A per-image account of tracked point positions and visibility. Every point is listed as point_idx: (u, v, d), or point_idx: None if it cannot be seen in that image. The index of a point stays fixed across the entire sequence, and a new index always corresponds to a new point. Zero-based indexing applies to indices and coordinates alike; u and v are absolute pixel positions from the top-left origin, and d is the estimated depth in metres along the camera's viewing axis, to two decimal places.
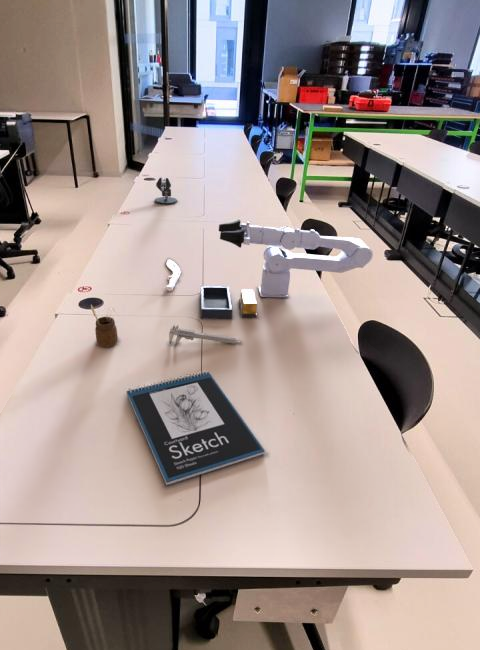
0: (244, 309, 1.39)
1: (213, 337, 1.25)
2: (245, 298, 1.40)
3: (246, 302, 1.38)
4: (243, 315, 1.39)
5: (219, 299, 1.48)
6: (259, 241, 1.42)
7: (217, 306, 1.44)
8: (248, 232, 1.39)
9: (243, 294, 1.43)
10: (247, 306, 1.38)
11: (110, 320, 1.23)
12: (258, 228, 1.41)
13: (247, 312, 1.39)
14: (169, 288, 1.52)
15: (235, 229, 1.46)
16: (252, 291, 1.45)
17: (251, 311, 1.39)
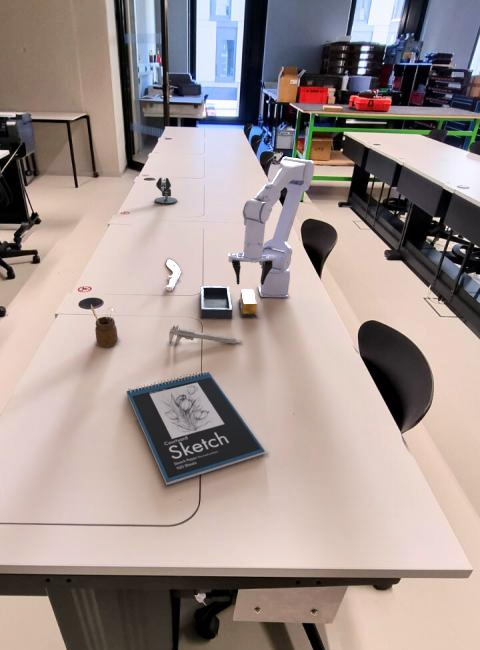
0: (244, 309, 1.39)
1: (213, 337, 1.25)
2: (245, 298, 1.40)
3: (246, 302, 1.38)
4: (243, 315, 1.39)
5: (219, 299, 1.48)
6: None
7: (217, 306, 1.44)
8: (265, 259, 1.33)
9: (243, 294, 1.43)
10: (247, 306, 1.38)
11: (110, 320, 1.23)
12: (258, 249, 1.30)
13: (247, 312, 1.39)
14: (169, 288, 1.52)
15: None
16: (252, 291, 1.45)
17: (251, 311, 1.39)
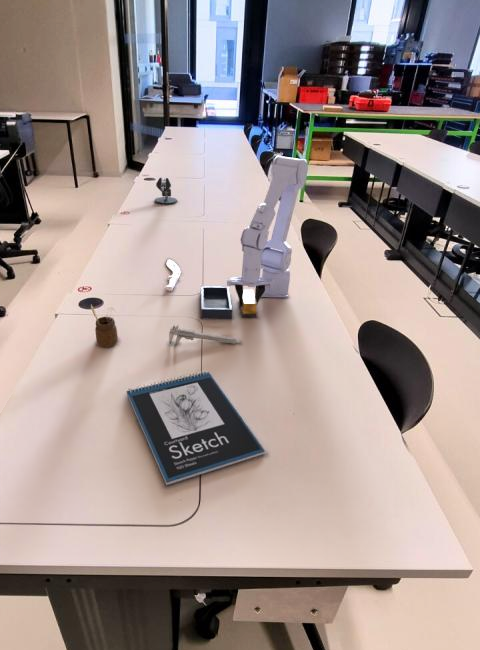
0: (244, 309, 1.39)
1: (213, 337, 1.25)
2: (245, 298, 1.40)
3: (246, 302, 1.38)
4: (243, 315, 1.39)
5: (219, 299, 1.48)
6: None
7: (217, 306, 1.44)
8: (263, 283, 1.37)
9: (243, 294, 1.43)
10: (247, 306, 1.38)
11: (110, 320, 1.23)
12: (255, 274, 1.34)
13: (247, 312, 1.39)
14: (169, 288, 1.52)
15: None
16: (252, 291, 1.45)
17: (251, 311, 1.39)
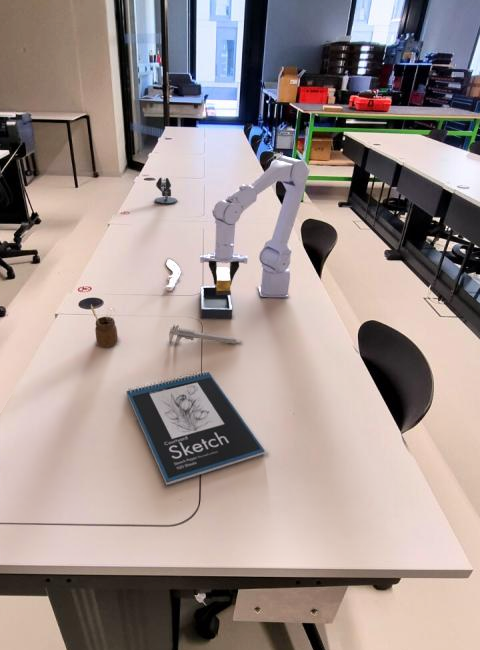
0: (218, 286, 1.35)
1: (213, 337, 1.25)
2: (219, 275, 1.37)
3: (220, 279, 1.35)
4: (217, 292, 1.36)
5: (219, 299, 1.48)
6: None
7: (217, 306, 1.44)
8: (236, 259, 1.34)
9: (217, 271, 1.40)
10: (221, 283, 1.35)
11: (110, 320, 1.23)
12: (228, 249, 1.31)
13: (221, 289, 1.36)
14: (169, 288, 1.52)
15: None
16: (227, 269, 1.42)
17: (225, 288, 1.36)
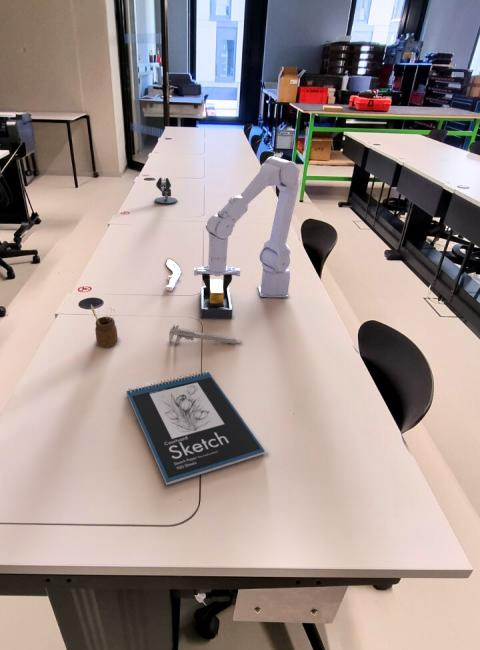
0: (211, 298, 1.38)
1: (213, 337, 1.25)
2: (212, 287, 1.40)
3: (213, 291, 1.38)
4: (210, 304, 1.39)
5: None
6: None
7: None
8: (229, 272, 1.37)
9: (211, 284, 1.42)
10: (214, 295, 1.38)
11: (110, 320, 1.23)
12: (221, 263, 1.34)
13: (214, 301, 1.39)
14: (169, 288, 1.52)
15: None
16: (220, 281, 1.44)
17: (218, 300, 1.39)
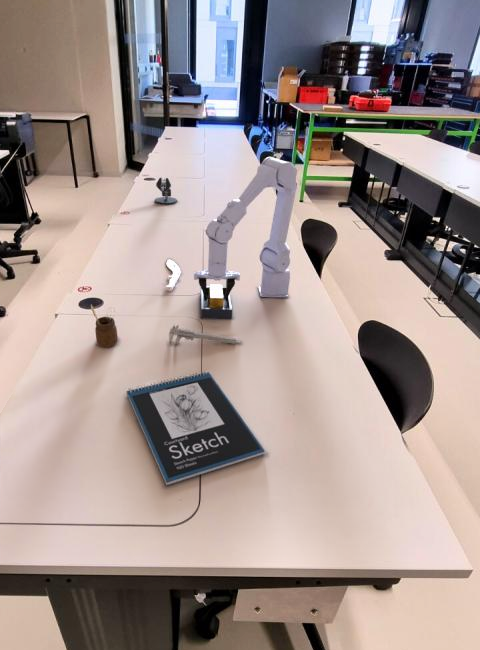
0: (211, 303, 1.39)
1: (213, 337, 1.25)
2: (212, 292, 1.41)
3: (213, 296, 1.39)
4: None
5: None
6: None
7: None
8: (229, 277, 1.38)
9: (211, 289, 1.43)
10: (214, 300, 1.39)
11: (110, 320, 1.23)
12: (221, 267, 1.35)
13: (214, 306, 1.40)
14: (169, 288, 1.52)
15: None
16: (220, 286, 1.45)
17: (218, 305, 1.40)
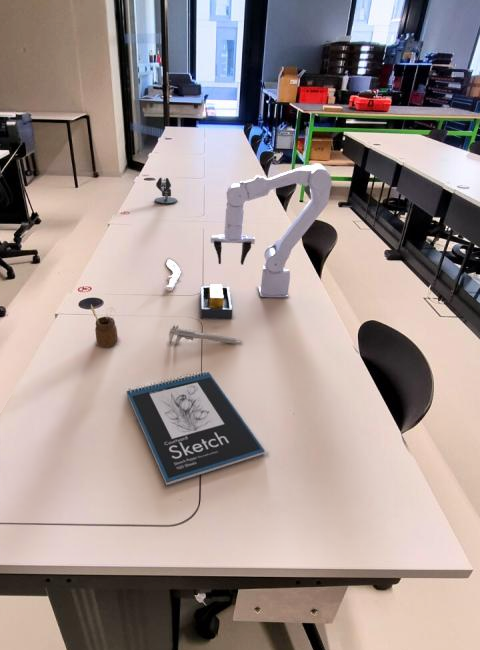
0: (211, 303, 1.39)
1: (213, 337, 1.25)
2: (212, 292, 1.41)
3: (213, 296, 1.39)
4: None
5: None
6: None
7: None
8: (244, 240, 1.44)
9: (211, 289, 1.43)
10: (214, 300, 1.39)
11: (110, 320, 1.23)
12: (237, 230, 1.41)
13: (214, 306, 1.40)
14: (169, 288, 1.52)
15: None
16: (220, 286, 1.45)
17: (218, 305, 1.40)
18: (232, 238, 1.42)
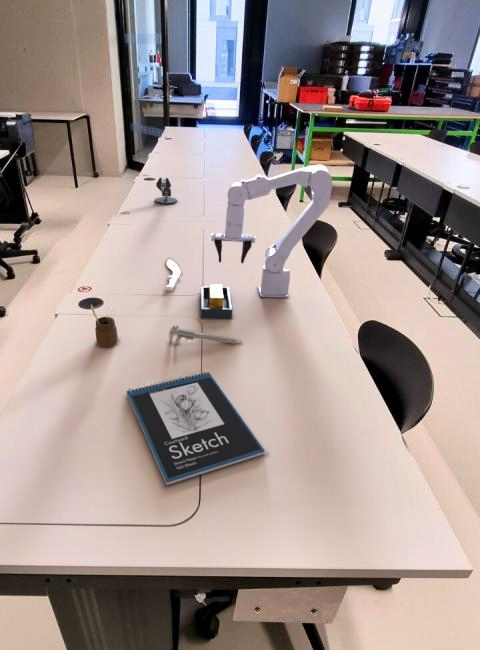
0: (211, 303, 1.39)
1: (213, 337, 1.25)
2: (212, 292, 1.41)
3: (213, 296, 1.39)
4: None
5: None
6: None
7: None
8: (245, 239, 1.44)
9: (211, 289, 1.43)
10: (214, 300, 1.39)
11: (110, 320, 1.23)
12: (238, 229, 1.42)
13: (214, 306, 1.40)
14: (169, 288, 1.52)
15: None
16: (220, 286, 1.45)
17: (218, 305, 1.40)
18: (233, 237, 1.43)
